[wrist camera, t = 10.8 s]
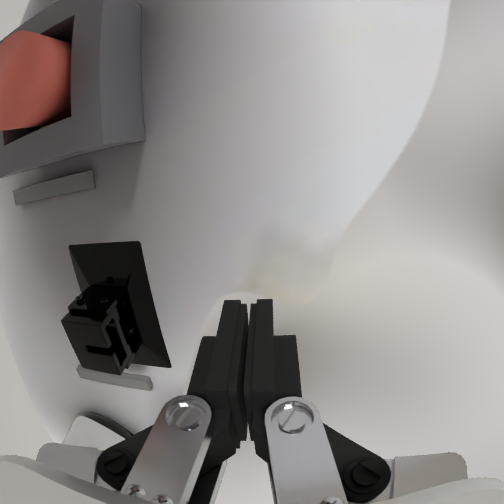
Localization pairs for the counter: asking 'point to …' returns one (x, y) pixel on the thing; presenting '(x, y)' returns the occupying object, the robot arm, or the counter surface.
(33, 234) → the counter surface
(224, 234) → the counter surface
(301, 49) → the counter surface
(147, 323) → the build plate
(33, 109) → the plunger
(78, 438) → the spread jar
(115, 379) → the strip
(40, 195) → the strip
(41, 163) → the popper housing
